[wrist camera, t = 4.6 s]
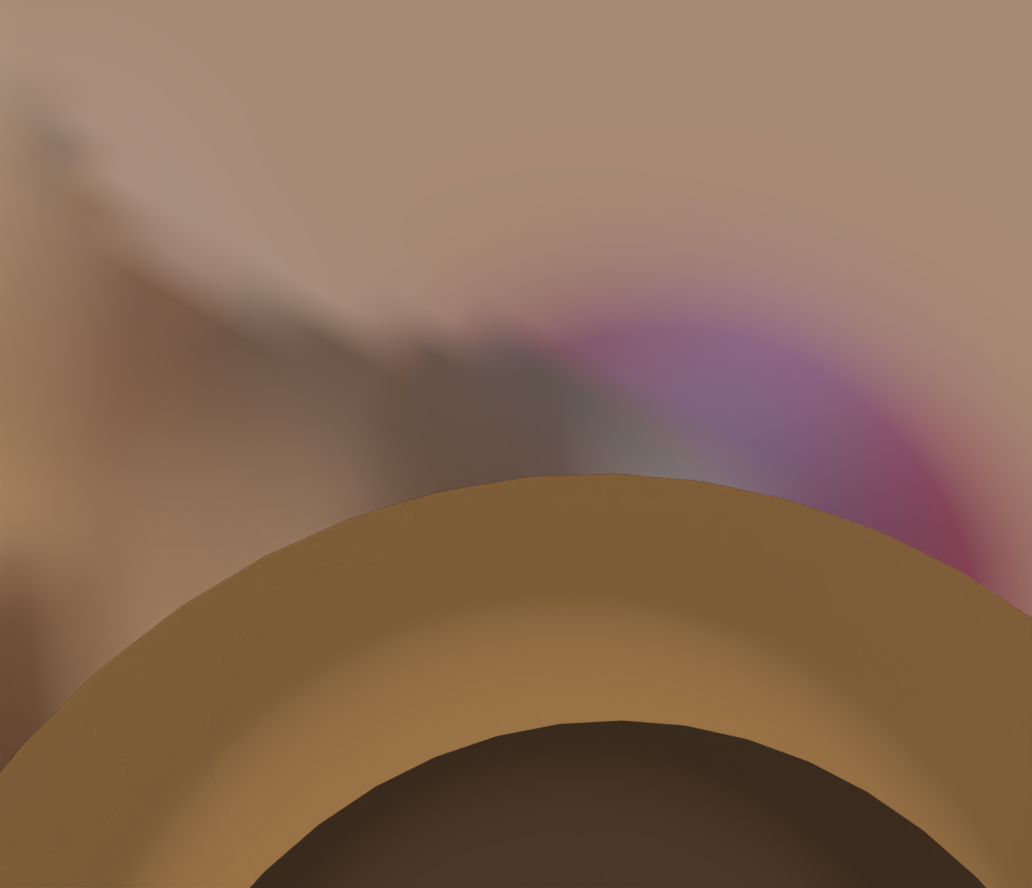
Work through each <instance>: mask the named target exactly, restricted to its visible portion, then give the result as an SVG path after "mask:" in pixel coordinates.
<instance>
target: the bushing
mask: <svg viewBox="0 0 1032 888" xmlns="http://www.w3.org/2000/svg"><path fill="white" fill-rule="evenodd" d="M0 888H1032V617H1031V616H1029V615H1027V614H1026V613H1024V612H1023V611H1021V610H1020V609H1018V608H1016V607H1015V606H1013V605H1012V604H1010V603H1009V602H1007V601H1006V600H1004V599H1003V598H1001V597H999V596H998V595H996V594H995V593H993V592H992V591H990V590H989V589H987V588H986V587H984V586H982V585H981V584H979V583H978V582H976V581H975V580H973V579H972V578H970V577H968V576H967V575H965V574H964V573H962V572H961V571H959V570H957V569H955V568H952V567H951V566H949V565H947V564H945V563H942V562H940V561H938V560H936V559H934V558H932V557H930V556H928V555H926V554H924V553H922V552H920V551H918V550H916V549H914V548H912V547H910V546H908V545H906V544H904V543H902V542H900V541H897V540H896V539H894V538H891V537H890V536H887V535H885V534H883V533H881V532H879V531H877V530H875V529H872V528H869V527H866V526H863V525H860V524H858V523H855V522H852V521H849V520H846V519H843V518H840V517H838V516H835V515H832V514H829V513H826V512H823V511H820V510H818V509H815V508H812V507H809V506H806V505H803V504H800V503H797V502H795V501H792V500H788V499H783V498H778V497H774V496H769V495H764V494H760V493H755V492H751V491H746V490H741V489H737V488H732V487H727V486H723V485H718V484H714V483H709V482H704V481H694V480H682V479H671V478H660V477H648V476H637V475H625V474H593V475H568V476H542V477H524V478H518V479H513V480H507V481H501V482H495V483H489V484H483V485H477V486H471V487H465V488H459V489H453V490H447V491H441V492H437V493H433V494H430V495H427V496H423V497H420V498H417V499H413V500H410V501H407V502H403V503H400V504H397V505H393V506H390V507H387V508H383V509H380V510H377V511H374V512H370V513H367V514H364V515H360V516H357V517H354V518H350V519H348V520H346V521H344V522H341V523H339V524H337V525H335V526H332V527H330V528H328V529H326V530H323V531H321V532H319V533H317V534H314V535H312V536H310V537H308V538H305V539H303V540H301V541H299V542H296V543H294V544H292V545H290V546H287V547H285V548H283V549H281V550H278V551H276V552H274V553H271V554H269V555H267V556H265V557H263V558H261V559H260V560H258V561H256V562H255V563H253V564H251V565H250V566H248V567H246V568H245V569H243V570H241V571H240V572H238V573H236V574H235V575H233V576H231V577H230V578H228V579H226V580H225V581H223V582H221V583H220V584H218V585H216V586H215V587H213V588H211V589H210V590H208V591H206V592H205V593H203V594H201V595H200V596H198V597H196V598H195V599H193V600H191V601H190V602H188V603H186V604H185V605H183V606H181V607H180V608H178V609H177V610H176V611H175V612H173V613H172V614H171V615H169V616H168V617H167V618H165V619H164V620H163V621H162V622H160V623H159V624H158V625H156V626H155V627H154V628H153V629H151V630H150V631H149V632H147V633H146V634H145V635H144V636H142V637H141V638H140V639H138V640H137V641H136V642H135V643H133V644H132V645H131V646H129V647H128V648H127V649H126V650H124V651H123V652H122V653H120V654H119V655H118V656H116V657H115V658H114V659H113V660H111V661H110V662H109V663H107V664H106V665H105V666H104V667H102V668H101V669H100V670H99V671H98V672H97V673H96V674H95V675H94V676H93V677H91V678H90V679H89V680H88V681H87V682H86V683H85V684H84V685H83V686H82V687H81V688H80V689H79V690H78V691H77V692H76V693H75V694H74V695H73V696H72V697H71V698H70V699H69V700H68V701H67V702H66V703H65V704H64V705H63V706H62V707H61V708H60V709H59V710H58V711H57V712H56V713H55V714H54V715H53V716H52V717H51V718H50V719H49V720H48V721H47V722H46V723H45V724H44V725H43V726H42V727H41V728H40V729H38V730H37V731H36V732H35V733H34V734H33V735H32V736H31V737H30V738H29V739H28V740H27V741H26V742H25V743H24V744H23V745H22V746H21V748H20V749H19V750H18V751H17V753H16V754H15V755H14V756H13V758H12V759H11V760H10V761H9V762H8V764H7V765H6V766H5V767H4V769H3V770H2V771H1V772H0Z"/></svg>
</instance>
